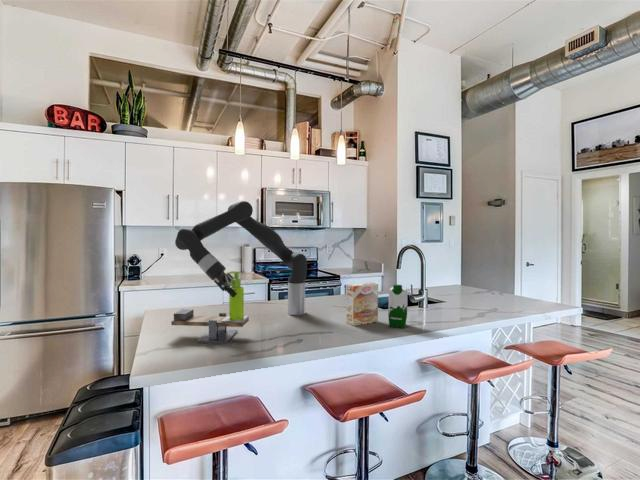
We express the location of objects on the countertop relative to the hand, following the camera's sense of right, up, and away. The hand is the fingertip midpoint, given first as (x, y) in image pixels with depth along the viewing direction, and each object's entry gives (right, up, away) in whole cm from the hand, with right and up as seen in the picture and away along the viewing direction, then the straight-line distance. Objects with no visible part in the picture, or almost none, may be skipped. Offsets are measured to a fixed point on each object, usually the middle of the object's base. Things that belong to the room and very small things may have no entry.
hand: (238, 293), depth 147 cm
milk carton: (+72, -19, +21) cm, 78 cm away
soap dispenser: (-1, -11, 0) cm, 11 cm away
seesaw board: (-12, -13, +1) cm, 17 cm away
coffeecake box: (+56, -19, +26) cm, 64 cm away
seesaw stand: (-9, -19, +1) cm, 21 cm away
